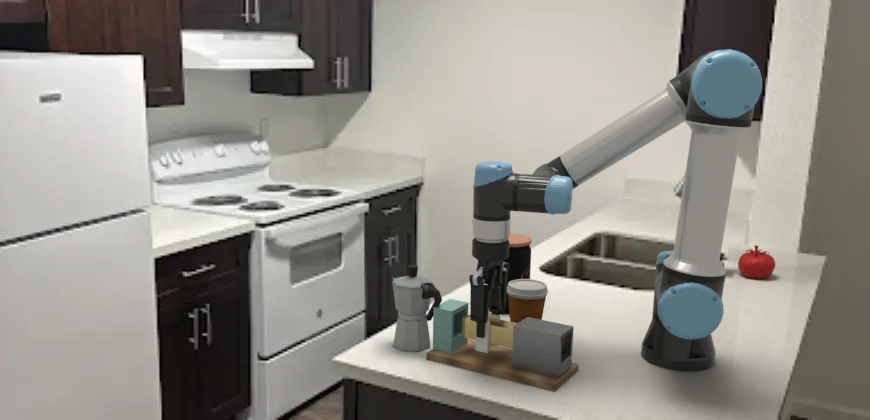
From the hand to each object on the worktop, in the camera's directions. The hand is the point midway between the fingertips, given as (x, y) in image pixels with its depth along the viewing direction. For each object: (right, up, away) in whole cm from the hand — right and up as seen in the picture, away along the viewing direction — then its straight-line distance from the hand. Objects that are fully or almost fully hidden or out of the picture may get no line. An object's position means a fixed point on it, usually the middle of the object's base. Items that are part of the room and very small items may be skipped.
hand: (487, 347), depth 168 cm
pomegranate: (+82, +9, +68) cm, 107 cm away
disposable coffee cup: (+10, 0, +17) cm, 19 cm away
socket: (-8, 0, +5) cm, 9 cm away
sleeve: (+10, -3, -6) cm, 12 cm away
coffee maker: (-15, -1, +9) cm, 18 cm away
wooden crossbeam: (+4, +1, -3) cm, 5 cm away
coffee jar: (+7, +4, +35) cm, 36 cm away
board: (+3, -3, -1) cm, 5 cm away
